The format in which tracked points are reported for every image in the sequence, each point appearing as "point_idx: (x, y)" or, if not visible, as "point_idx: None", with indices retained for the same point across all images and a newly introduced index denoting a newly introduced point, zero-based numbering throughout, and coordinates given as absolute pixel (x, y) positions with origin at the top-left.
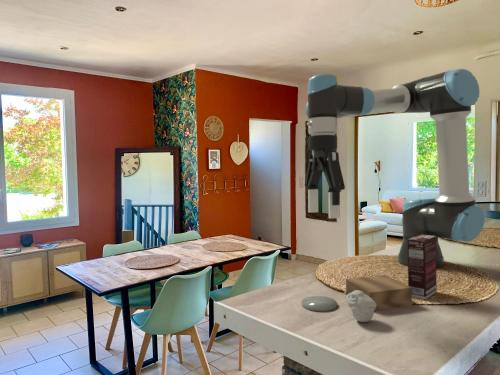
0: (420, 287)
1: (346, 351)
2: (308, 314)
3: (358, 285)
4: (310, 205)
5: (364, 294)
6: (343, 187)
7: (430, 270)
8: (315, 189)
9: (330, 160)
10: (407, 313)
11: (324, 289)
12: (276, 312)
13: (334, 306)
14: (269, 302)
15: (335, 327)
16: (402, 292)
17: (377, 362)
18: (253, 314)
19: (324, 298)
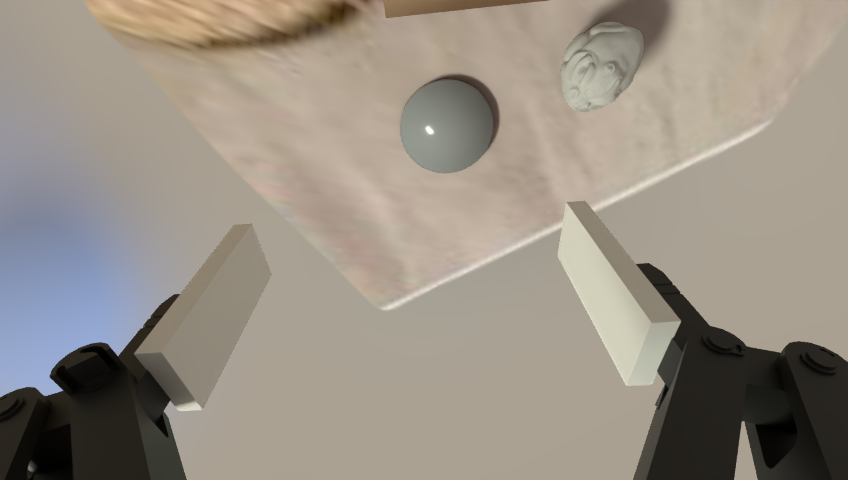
0: None
1: (681, 155)
2: (494, 170)
3: (469, 3)
4: (252, 299)
5: (617, 62)
6: (834, 369)
7: None
8: (175, 370)
9: None
10: None
11: (319, 65)
12: (461, 228)
13: (484, 99)
14: (400, 231)
15: (583, 136)
16: None
17: (748, 117)
18: (458, 267)
19: (424, 106)
